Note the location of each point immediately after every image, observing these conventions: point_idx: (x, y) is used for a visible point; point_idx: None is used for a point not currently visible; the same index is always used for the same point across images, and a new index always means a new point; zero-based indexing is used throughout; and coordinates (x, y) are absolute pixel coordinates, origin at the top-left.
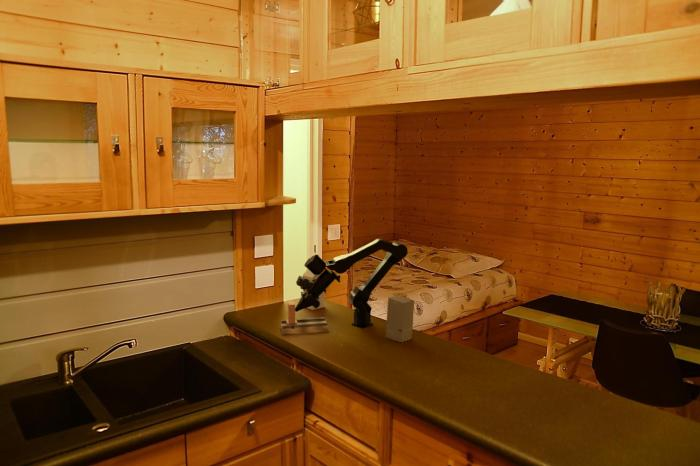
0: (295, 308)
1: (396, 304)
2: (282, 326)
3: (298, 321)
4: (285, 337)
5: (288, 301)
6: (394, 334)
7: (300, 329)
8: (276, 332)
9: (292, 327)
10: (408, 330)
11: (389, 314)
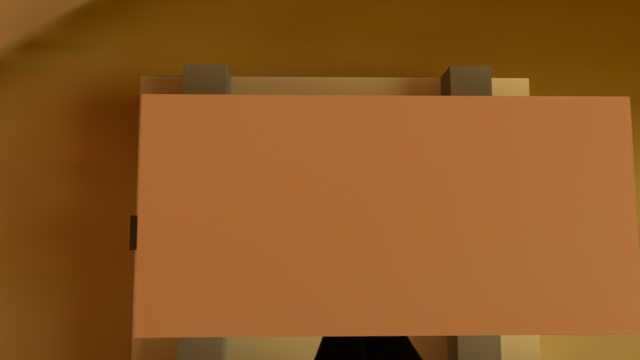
0: (351, 339)
1: None
2: (186, 68)
3: (449, 357)
4: (39, 121)
5: (597, 120)
6: None
7: (137, 352)
8: (262, 22)
9: (132, 226)
10: None
11: None
